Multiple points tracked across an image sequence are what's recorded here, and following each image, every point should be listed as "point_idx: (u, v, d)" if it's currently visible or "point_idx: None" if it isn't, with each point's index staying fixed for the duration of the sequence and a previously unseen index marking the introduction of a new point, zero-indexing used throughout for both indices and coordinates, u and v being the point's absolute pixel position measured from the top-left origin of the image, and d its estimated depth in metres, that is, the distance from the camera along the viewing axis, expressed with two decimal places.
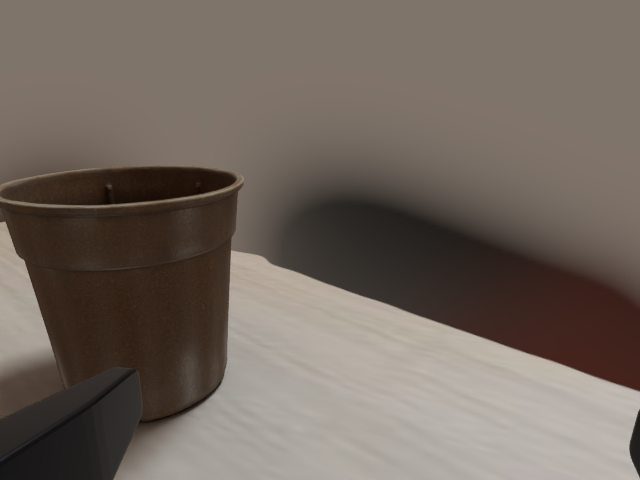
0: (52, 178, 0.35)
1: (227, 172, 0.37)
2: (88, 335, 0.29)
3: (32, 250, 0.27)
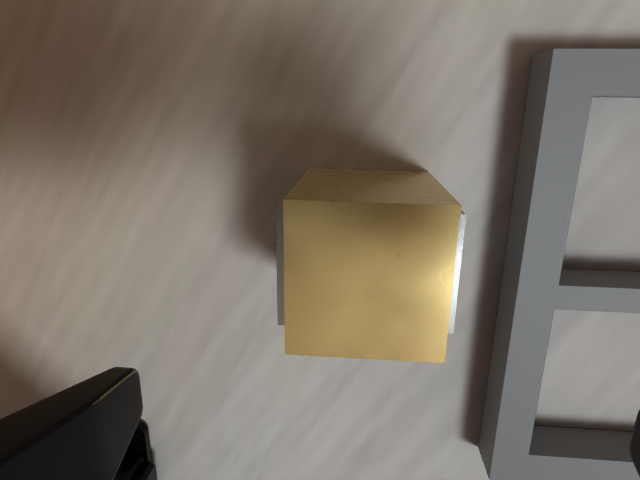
0: None
1: None
2: None
3: None
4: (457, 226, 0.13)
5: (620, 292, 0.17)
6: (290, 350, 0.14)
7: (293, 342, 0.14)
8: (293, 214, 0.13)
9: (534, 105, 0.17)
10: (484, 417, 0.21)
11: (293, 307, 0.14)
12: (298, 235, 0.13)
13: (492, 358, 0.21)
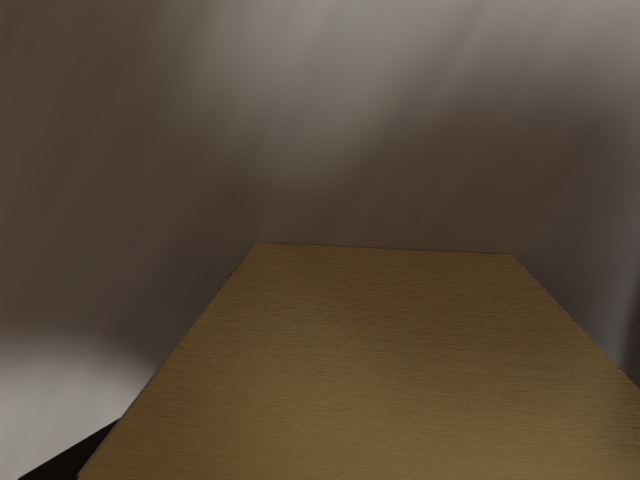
0: None
1: None
2: None
3: None
4: None
5: None
6: None
7: None
8: None
9: None
10: None
11: None
12: None
13: None
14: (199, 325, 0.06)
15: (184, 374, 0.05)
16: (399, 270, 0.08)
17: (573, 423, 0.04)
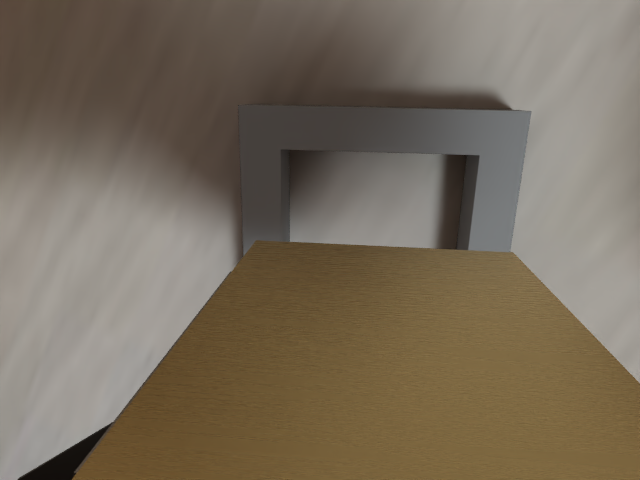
0: None
1: None
2: None
3: None
4: None
5: None
6: None
7: None
8: None
9: None
10: None
11: None
12: None
13: None
14: (198, 322, 0.06)
15: (183, 371, 0.05)
16: (399, 268, 0.08)
17: (576, 420, 0.04)
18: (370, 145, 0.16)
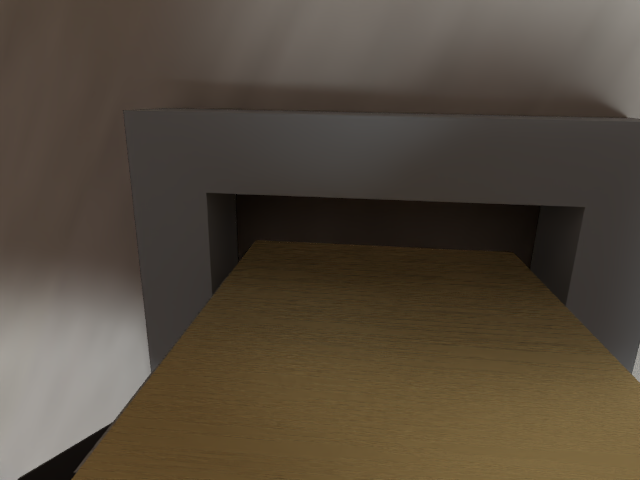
0: None
1: None
2: None
3: None
4: None
5: None
6: None
7: None
8: None
9: None
10: None
11: None
12: None
13: None
14: (198, 322, 0.06)
15: (183, 371, 0.05)
16: (399, 267, 0.08)
17: (576, 420, 0.04)
18: (374, 187, 0.08)
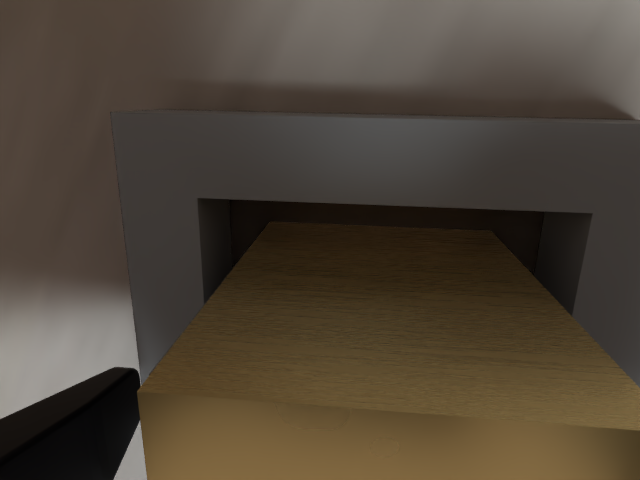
0: None
1: None
2: None
3: None
4: None
5: None
6: None
7: None
8: (169, 429, 0.05)
9: None
10: None
11: None
12: None
13: None
14: (230, 277, 0.07)
15: (224, 307, 0.06)
16: (393, 241, 0.09)
17: (517, 336, 0.06)
18: (372, 192, 0.08)
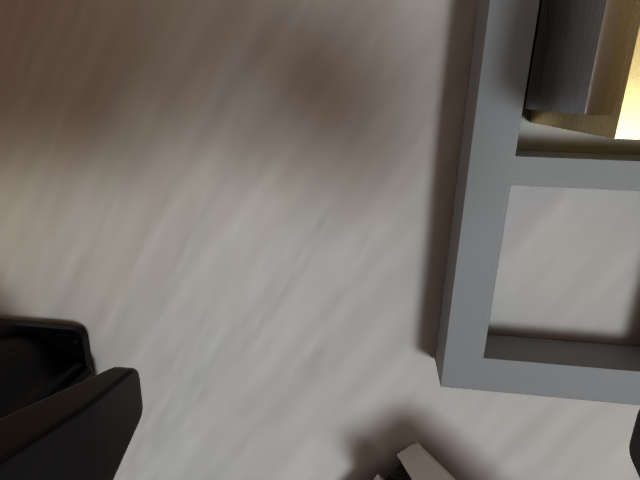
0: None
1: None
2: None
3: None
4: None
5: (585, 164, 0.15)
6: (624, 132, 0.11)
7: (631, 120, 0.11)
8: None
9: None
10: (440, 324, 0.20)
11: None
12: None
13: (448, 255, 0.19)
14: None
15: None
16: None
17: None
18: None
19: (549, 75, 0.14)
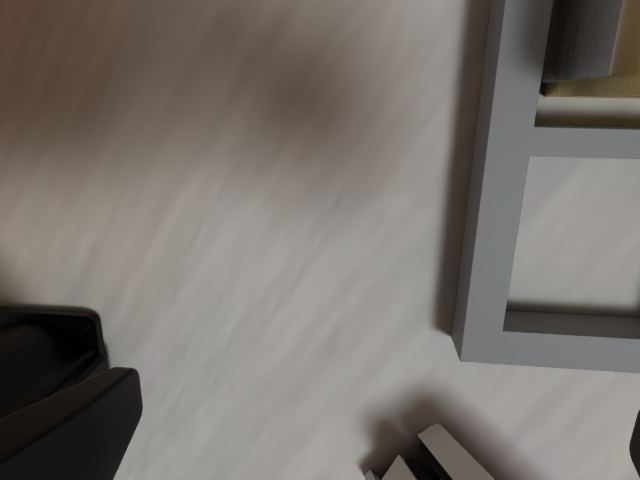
0: None
1: None
2: None
3: None
4: None
5: (601, 133, 0.16)
6: None
7: None
8: None
9: None
10: (457, 300, 0.20)
11: None
12: None
13: (465, 231, 0.19)
14: None
15: None
16: None
17: None
18: None
19: (567, 45, 0.15)
